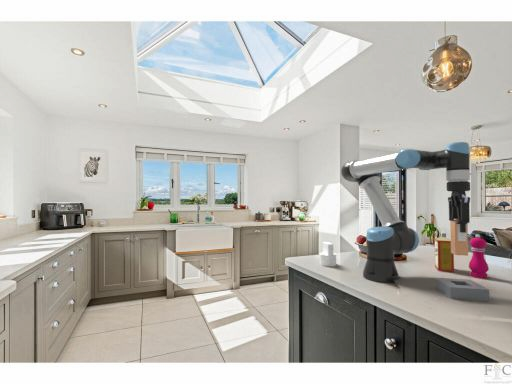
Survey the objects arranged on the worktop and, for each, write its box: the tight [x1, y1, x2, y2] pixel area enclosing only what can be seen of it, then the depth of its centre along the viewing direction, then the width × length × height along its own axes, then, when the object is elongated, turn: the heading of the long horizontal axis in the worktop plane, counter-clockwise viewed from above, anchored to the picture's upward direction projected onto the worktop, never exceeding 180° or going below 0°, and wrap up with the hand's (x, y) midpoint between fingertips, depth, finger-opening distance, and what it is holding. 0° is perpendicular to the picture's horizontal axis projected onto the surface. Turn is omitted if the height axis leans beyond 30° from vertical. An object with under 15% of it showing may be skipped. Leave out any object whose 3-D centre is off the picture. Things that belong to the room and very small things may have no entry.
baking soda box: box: [434, 237, 455, 273], centre depth 139 cm, size 10×6×16 cm
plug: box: [449, 219, 469, 257], centre depth 105 cm, size 4×4×14 cm
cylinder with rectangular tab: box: [319, 241, 337, 267], centre depth 149 cm, size 9×9×12 cm
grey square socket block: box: [435, 277, 490, 302], centre depth 100 cm, size 12×12×5 cm
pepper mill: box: [468, 233, 489, 279], centre depth 126 cm, size 7×7×20 cm
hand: (459, 239), depth 105 cm, fingers closed on plug, 4 cm apart
